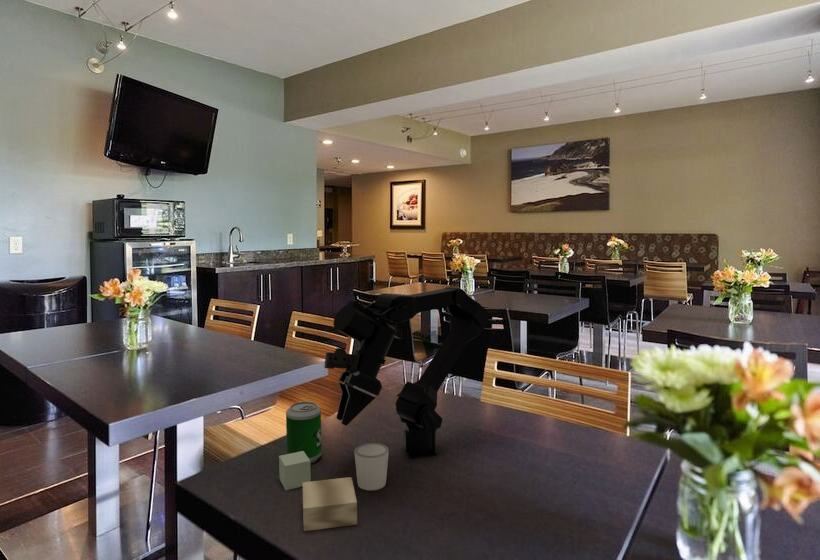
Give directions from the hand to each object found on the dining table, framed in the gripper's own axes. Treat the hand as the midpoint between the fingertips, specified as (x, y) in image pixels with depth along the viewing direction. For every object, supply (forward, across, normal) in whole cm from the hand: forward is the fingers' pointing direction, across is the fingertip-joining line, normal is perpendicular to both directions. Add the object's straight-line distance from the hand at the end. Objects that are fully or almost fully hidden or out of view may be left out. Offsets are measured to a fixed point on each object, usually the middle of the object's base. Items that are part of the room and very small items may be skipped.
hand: (341, 422), depth 99 cm
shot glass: (+9, -1, +11) cm, 14 cm away
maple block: (+15, +7, +4) cm, 17 cm away
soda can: (+11, -15, -2) cm, 19 cm away
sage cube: (+14, -5, -3) cm, 16 cm away
